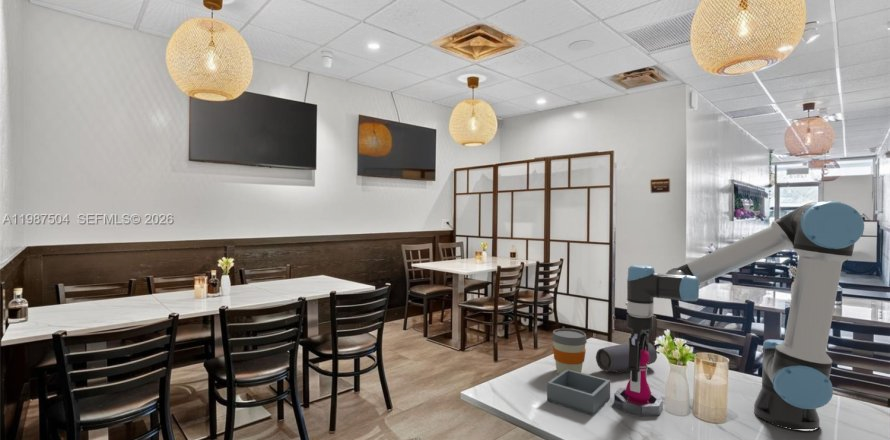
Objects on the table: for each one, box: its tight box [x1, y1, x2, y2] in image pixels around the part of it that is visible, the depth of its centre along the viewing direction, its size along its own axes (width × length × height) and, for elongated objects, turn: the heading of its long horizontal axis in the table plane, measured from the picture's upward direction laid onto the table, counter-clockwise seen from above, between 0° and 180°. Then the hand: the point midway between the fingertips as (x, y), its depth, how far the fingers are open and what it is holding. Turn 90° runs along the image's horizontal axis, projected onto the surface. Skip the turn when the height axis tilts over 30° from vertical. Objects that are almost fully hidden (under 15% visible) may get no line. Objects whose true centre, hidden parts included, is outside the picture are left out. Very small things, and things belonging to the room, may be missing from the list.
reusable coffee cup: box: [551, 328, 587, 375], centre depth 160 cm, size 13×13×15 cm
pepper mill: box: [625, 349, 652, 404], centre depth 133 cm, size 7×7×20 cm
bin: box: [546, 369, 611, 417], centre depth 137 cm, size 15×15×6 cm
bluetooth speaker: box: [595, 342, 658, 374], centre depth 163 cm, size 23×9×10 cm, turn 112°
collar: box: [613, 387, 664, 417], centre depth 133 cm, size 13×13×3 cm
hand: (638, 387), depth 133 cm, fingers closed on pepper mill, 6 cm apart
